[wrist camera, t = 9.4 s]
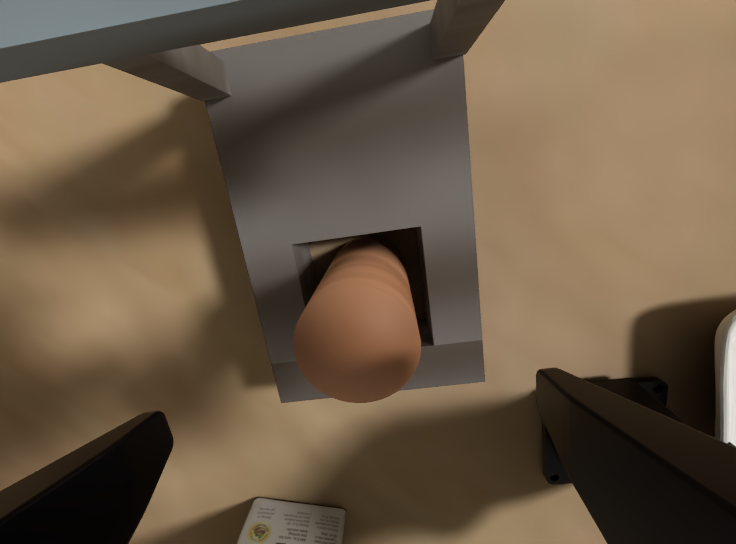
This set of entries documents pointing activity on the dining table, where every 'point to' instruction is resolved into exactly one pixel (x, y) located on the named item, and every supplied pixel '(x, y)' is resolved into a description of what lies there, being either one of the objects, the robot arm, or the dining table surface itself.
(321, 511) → the coffee box
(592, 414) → the robot arm
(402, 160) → the socket block
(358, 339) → the peg
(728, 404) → the salad plate
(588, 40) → the dining table surface
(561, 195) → the dining table surface
